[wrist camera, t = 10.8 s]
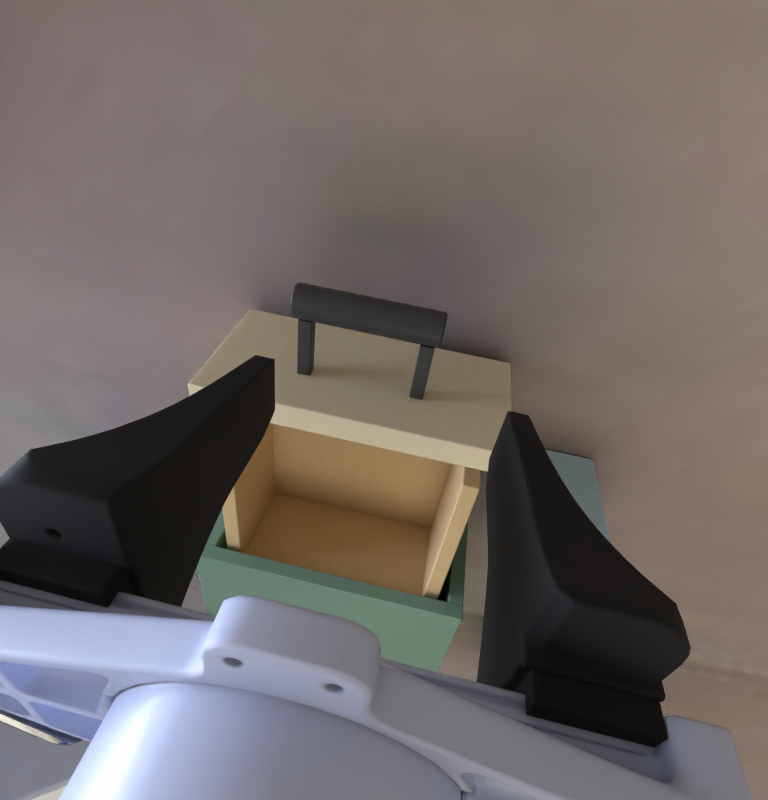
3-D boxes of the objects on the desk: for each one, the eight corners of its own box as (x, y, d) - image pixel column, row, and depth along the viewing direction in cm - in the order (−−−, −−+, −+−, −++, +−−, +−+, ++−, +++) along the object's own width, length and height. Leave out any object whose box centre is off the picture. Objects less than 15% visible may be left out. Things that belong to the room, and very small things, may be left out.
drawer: (246, 229, 22) (172, 292, 17) (537, 287, 22) (549, 371, 17) (259, 482, 34) (216, 566, 28) (452, 527, 33) (443, 621, 28)
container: (492, 505, 32) (491, 613, 26) (519, 441, 28) (524, 551, 23) (560, 520, 32) (574, 633, 26) (597, 458, 28) (623, 573, 22)
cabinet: (254, 448, 33) (194, 554, 26) (469, 496, 32) (462, 620, 25) (261, 567, 42) (217, 668, 36) (428, 608, 41) (415, 719, 35)
